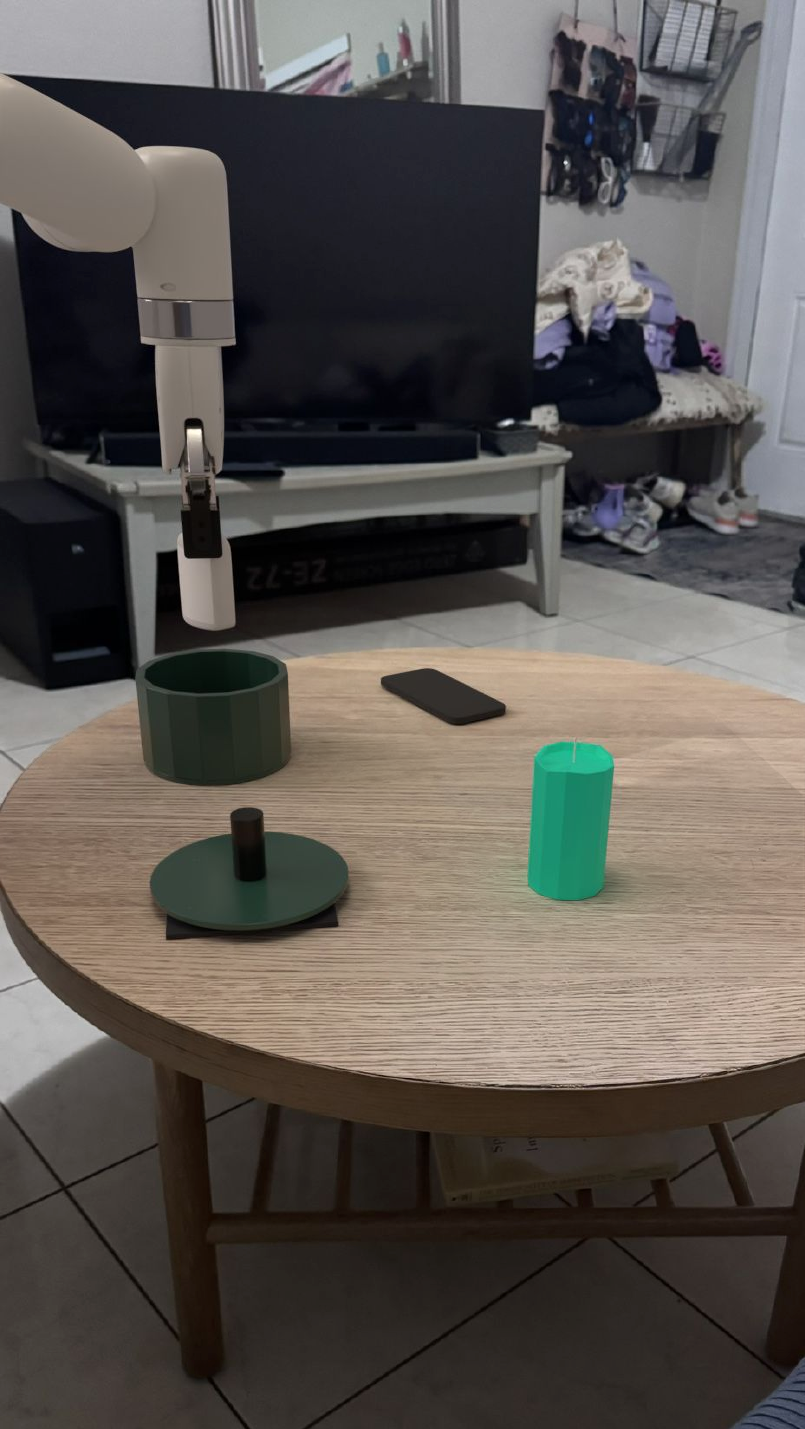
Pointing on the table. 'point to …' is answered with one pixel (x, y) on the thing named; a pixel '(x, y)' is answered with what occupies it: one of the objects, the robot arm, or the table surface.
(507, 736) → the table surface
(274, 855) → the tin lid
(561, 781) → the candle
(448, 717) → the phone
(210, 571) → the eye dropper bottle
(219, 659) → the tin
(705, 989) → the table surface
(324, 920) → the mat
